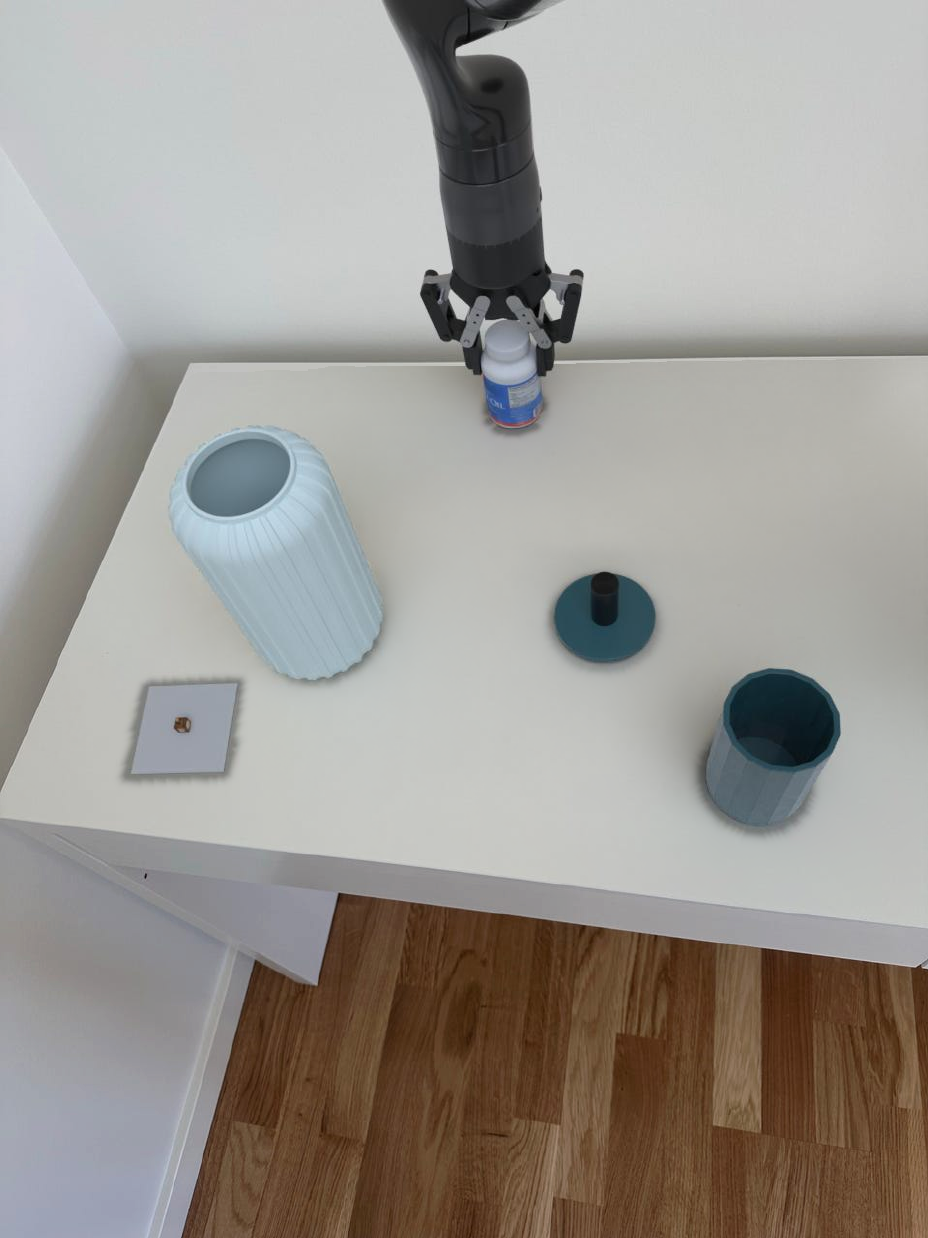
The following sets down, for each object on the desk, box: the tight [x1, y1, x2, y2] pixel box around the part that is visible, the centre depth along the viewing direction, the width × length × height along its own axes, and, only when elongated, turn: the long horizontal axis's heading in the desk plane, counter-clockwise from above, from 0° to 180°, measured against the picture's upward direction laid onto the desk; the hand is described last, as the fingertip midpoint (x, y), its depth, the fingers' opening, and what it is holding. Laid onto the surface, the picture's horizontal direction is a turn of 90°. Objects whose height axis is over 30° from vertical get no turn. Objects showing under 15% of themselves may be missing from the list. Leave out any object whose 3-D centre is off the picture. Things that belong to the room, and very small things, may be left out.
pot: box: [705, 667, 842, 827], centre depth 64 cm, size 7×7×12 cm
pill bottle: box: [481, 319, 544, 429], centre depth 85 cm, size 6×5×10 cm
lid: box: [553, 571, 656, 663], centre depth 74 cm, size 8×8×6 cm
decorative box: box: [130, 682, 238, 775], centre depth 76 cm, size 8×8×2 cm
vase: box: [167, 424, 384, 681], centre depth 70 cm, size 12×12×22 cm
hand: (511, 368), depth 85 cm, fingers closed on pill bottle, 5 cm apart
